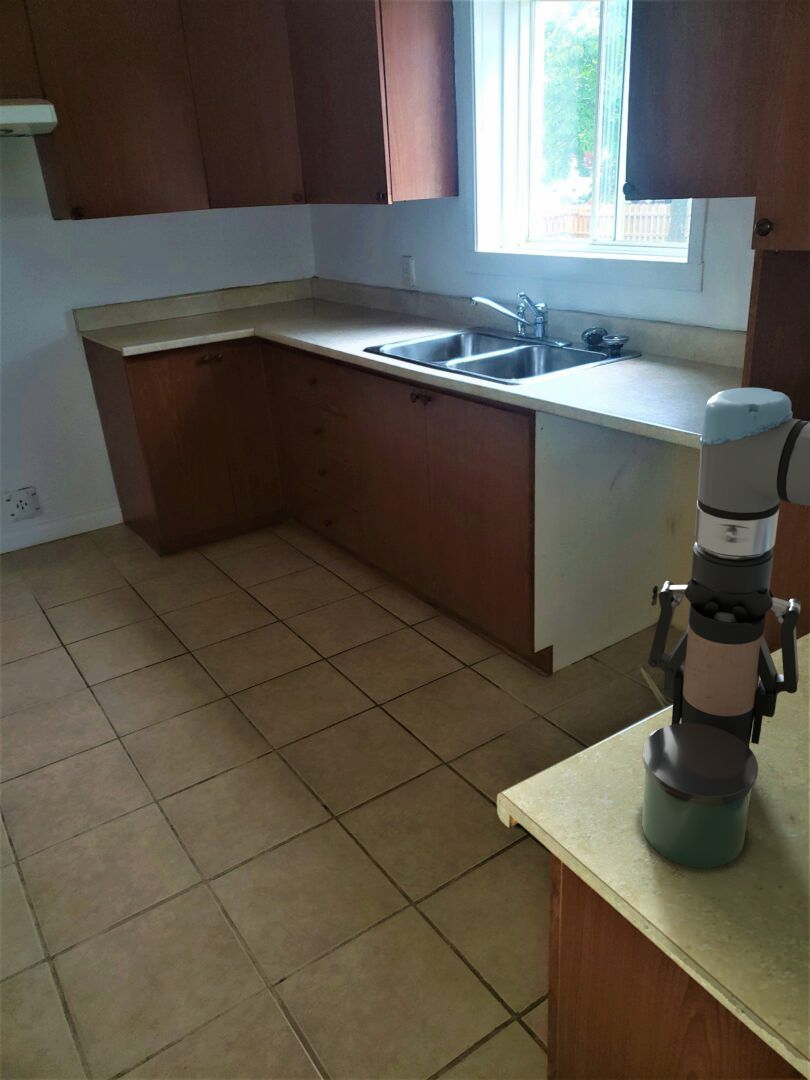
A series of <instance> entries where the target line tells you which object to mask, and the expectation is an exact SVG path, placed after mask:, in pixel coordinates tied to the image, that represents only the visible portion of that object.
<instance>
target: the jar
mask: <svg viewBox="0 0 810 1080" xmlns="http://www.w3.org/2000/svg"><path fill="white" fill-rule="evenodd" d="M641 755H642V757H641V758H642V763H643V766H644V771H645V772H644V787H643V789H644V790H643V801H642V802H643V804H642V819H641V827H642V831H643V834H644V836H645V838H646V840H647V841H648V843H649V844H650V845H651V846H652V848H654V850H655V851H657V852H658V853H659V854H660V855H662V856H663V857H665V858H666V859H669V860H670V861H673V862H674V863H677V864H679V865H683V866H687V867H690V868H691V867H692V868H698V869H699V868H700V869H711V868H718V867H721V866H724V865H727V864H729V863H731V862H732V861H734V860H735V859H736V858H737V857H738V856H739V854H740V853H741V852H742V850H743V848H744V844H745V836H746V829H747V822H748V815H749V809H750V800H751V793H752V790H753V787H754V786H755V784H756V782H757V780H758V776H759V762H758V760H757V757H756V754H754V752H753V750H752V749H751V748H750V746H749V747H748V746H747V745H746V744H745V743H744V742H743V741H741V740H740V739H739V738H737V737H736V736H734V735H732V734H730V733H728V732H726V731H724V730H721V729H719V728H716V727H712V726H708V725H703V724H695V723H681V722H680V723H679V724H673V725H672V724H670V725H666V726H663V727H661V728H659V729H657V730H655V731H654V732H652V733H651V734H650V735H649V736H648V737H647V739H646V740H645V742H644V744H643V747H642V754H641Z"/></svg>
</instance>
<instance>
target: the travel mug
mask: <svg viewBox="0 0 810 1080" xmlns="http://www.w3.org/2000/svg"><path fill="white" fill-rule="evenodd" d="M766 619H767V612H766V613H765V614H764V615H763V616H762V617H760V618H759V619H758V620H757V621H753V622H752V623H751V624H749V623H737V621H736V620H735V617H734V615H733V614H730V613H725V612H716V614H715V615H714V617H713V618H712V619H711V618H706V617H704V616H702V615H700V613H698V612H696V610H695V609H694V607H693V606H692V604H691V603H690V602H689V607H688V619H687V628H688V629H687V628H686V630H687V632H688V639H687V650H686V658H685V660H684V665H683V666H684V676H683V687H682V712H681V720H680V723H695V724H703V725H708V726H712V727H716V728H719V729H721V730H724V731H726V732H728V733H730V734H732V735H734V736H736V737H737V738H739V739H740V740H741V741H743V742H744V743H745V744H746V745H747V746H748V747H749V748H750V744H751V739H752V730H753V722H754V714H755V705H756V697H757V691H758V685H759V680H760V676H759V674H758V671H757V668H758V659H759V650H760V645H762V644H763V637H764V638H765V636H764V635H765V628H766Z"/></svg>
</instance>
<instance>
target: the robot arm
mask: <svg viewBox="0 0 810 1080" xmlns="http://www.w3.org/2000/svg"><path fill="white" fill-rule="evenodd" d="M703 416H704V417H703V423H702V430H701V437H700V438H699V445H700V454H699V455H700V456H699V472H698V488H697V489H698V490H697V491H698V492H697V497H696V498H697V499H696V500H697V501H696V510H695V511H696V512H695V522H694V533H693V536H694V537H693V538H694V541H695V543H694V545H693V547H692V561H691V562H692V563H691V575H690V579H689V581H688V582H687V584H674V582H673V581H671V580H666V581H664V582H663V584H662V585H661V588H660V591H659V593H658V601H659V606H660V607H659V608H660V612H659V615H658V619H657V620H658V621H657V625H656V628H655V629H656V630H655V632H654V636H653V641H652V645H651V649H650V653H649V657H648V661H647V664H648V666H649V667H651V668H653V669H656V668H659V669H660V670H661V671H663V673H664V682H663V694H664V696H665V697H667V698H672V709H671V711H672V713H671V725H673V724H680V723H681V712H682V687H683V676H684V665H683V663H684V662H685V658H686V650H687V639H688V632H687V629H688V627H687V628H686V630H685V631H684V633H683V635H682V636H681V638H680V639H679V641H678V642H677V644H676V646H675V647H674V648H673V650H672V652H671V653H670V654H668V653H666V652H665V649H666V646H667V641H668V638H669V633H670V629H671V626H672V622H673V618H674V614H675V611H676V607H679V606H680V605H681V603H682V601H683V599H684V598H686V599H687V600H688V602H689V604H690V603H691V604H692V606H693V607H694V609H695V610H696V612H698V613H700V615H702V616H704V617H706V618H711V619H712V618H713V617H714V615H715V614H716V612H725V613H730V614H733V615H734V617H735V620H736V621H737V623H749V624H751V623H752V622H753V621H757V620H758V619H759V618H760V617H762V616H763V615H764V614H765V613H766V614H767V613H768V612H769V611H770V610H771V611H773V614H774V617H775V618H774V619H775V620H776V621H777V622H778V623H779V624H781V626H780V646H781V661H782V674H779V673H778V670H777V667H776V665H775V662H774V659H773V657H772V654H771V652H770V649H769V646H768V643H767V641H766V638H765V636H764V637H763V644H762V645H760V650H759V659H758V668H757V671H758V674H759V683H758V691H757V697H756V705H755V714H754V720H753V726H752V732H751V739H750V744H753V745H754V744H755V745H759V742H760V737H761V733H762V726H763V718H764V717H766V718H773V717H774V716H775V714H776V706H777V699H778V694H780V693H782V692H786V693H788V694H795V693H797V691H798V686H799V685H798V684H799V675H800V674H799V673H800V672H799V661H798V660H799V659H798V657H799V656H798V641H797V640H798V639H797V623H798V621H799V619H800V614H801V606H802V603H801V601H800V600H799V599H797V598H791V599H788V600H785V599H781V598H778V597H776V596H775V597H774V594H773V592H772V589H771V578H772V569H773V562H774V549H773V548H774V546H775V544H776V539H777V538H776V537H777V530H778V521H779V513H780V504H781V502H785V503H790V504H797V505H802V506H808V507H810V421H808V420H802V419H797V418H793V411H792V401H791V399H790V397H789V396H788V395H787V394H785V393H783V392H781V391H774V390H773V389H770V388H763V387H739V388H731V389H726V390H723V391H719V392H718V393H716V394H714V395H713V396H711V397H710V399H709V400H708V401H707V403H706V405H705V408H704V415H703Z"/></svg>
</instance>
